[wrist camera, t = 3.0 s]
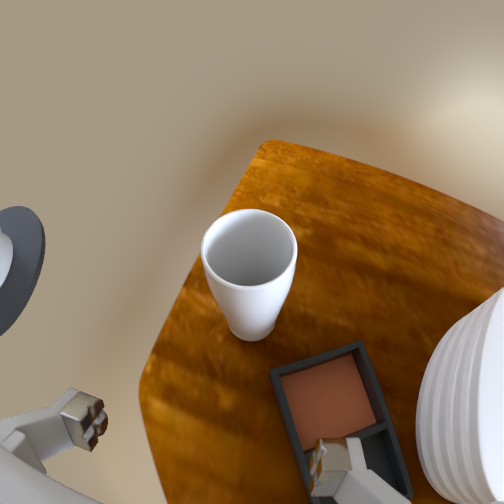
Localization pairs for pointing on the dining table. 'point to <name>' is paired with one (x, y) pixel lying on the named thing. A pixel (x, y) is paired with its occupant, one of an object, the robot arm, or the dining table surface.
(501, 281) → the dining table surface
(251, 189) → the dining table surface
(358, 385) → the socket pad
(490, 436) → the plate stack
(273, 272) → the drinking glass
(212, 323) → the dining table surface
